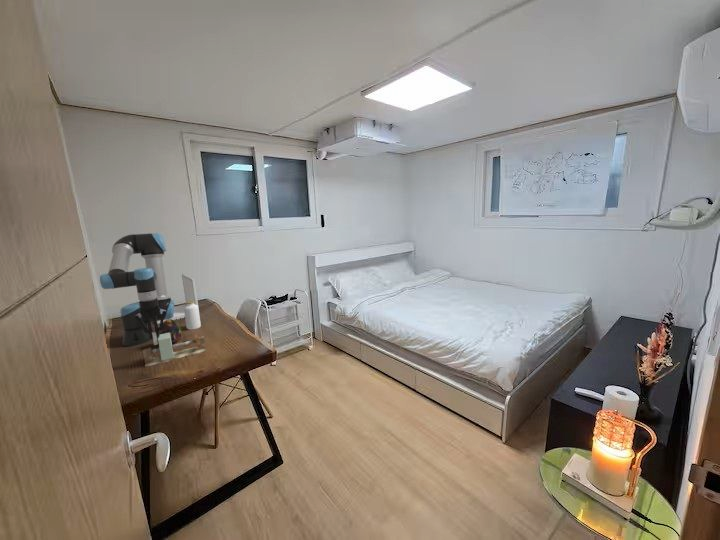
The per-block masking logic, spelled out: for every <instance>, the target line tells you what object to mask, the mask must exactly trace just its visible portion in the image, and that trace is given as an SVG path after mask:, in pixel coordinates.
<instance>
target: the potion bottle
mask: <svg viewBox="0 0 720 540" xmlns="http://www.w3.org/2000/svg"><path fill="white" fill-rule="evenodd" d="M198 307H199V304H198V305H195V304H194V301H190V302H187V306H185V307H184V314H185V318H184V319H185V326H186V329H187V330H190V331H191V330H192V331H193V330H197V329H199V328H201V326H202V324H201V323H202V322H201V318H200V309H199V308H198Z"/></svg>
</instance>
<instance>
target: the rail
mask: <svg viewBox="0 0 720 540" xmlns="http://www.w3.org/2000/svg"><path fill="white" fill-rule="evenodd" d="M193 344H195V346H193V347H190V348H186V349H182V350H177V351H173V358H171V359H167V360H163V361H162V359H161V354H159V355H156V356H153V354H155V353H160V348H159V347H158V348H157V347H156V348H153V349H152V347H148V348H145V349H143V350H142V354H143V357H144V358H143V359H144V363H145V364H144V367H150V366H154V365H159V364H162V363H166V362H170V360H171V361H175V360H178V358H179V359H182V357H183V358H186V357H185V356H187V357H190V356H194V355H198V354H202V352H203V353H205V352H206V353H207V349H206V341H205V336H204V335H202V336H201V335H200V336H198V334H197V333H196V334H194V339H193V340H188V341H184V342H179V343H178V344H174V345H172V348H173V349H176V348H179V347H185V346H189V345H193ZM174 359H175V360H174Z"/></svg>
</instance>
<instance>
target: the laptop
mask: <svg viewBox="0 0 720 540" xmlns="http://www.w3.org/2000/svg"><path fill="white" fill-rule="evenodd" d="M181 278H182V285H183V286H182V287H183V293H184V297H185V304H179V305H174V316H173V317H172V318H171V319H172V320H174V321H176V319H177V320H180V318H181V319H185V318H184V317H185V314H184V307H185V306H187V302H190V301H194V304H195V305H198V308H199V301H198V293H197V289H196V280H195V279H194V278H192V277H190V276H188V275H186V274H184V273H181ZM166 320H167V319H166ZM164 321H165V320H163V322H164ZM157 324H158V325H160V321H157Z"/></svg>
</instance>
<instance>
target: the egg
mask: <svg viewBox="0 0 720 540" xmlns="http://www.w3.org/2000/svg"><path fill="white" fill-rule="evenodd" d="M165 333H170V336H171V342H172V345H174V344H179V343H180V340H181V339H182V336H183V332H182V328H181V327H180V325H179V324H178V322H176V320H172V319H167V320H165V321H164V322H163V327H162V330H159V335H160V334H165Z"/></svg>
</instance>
